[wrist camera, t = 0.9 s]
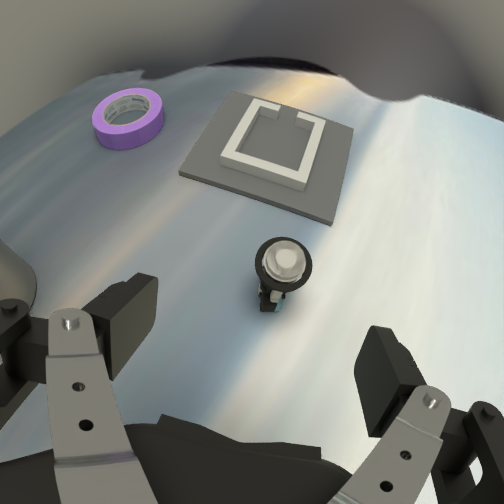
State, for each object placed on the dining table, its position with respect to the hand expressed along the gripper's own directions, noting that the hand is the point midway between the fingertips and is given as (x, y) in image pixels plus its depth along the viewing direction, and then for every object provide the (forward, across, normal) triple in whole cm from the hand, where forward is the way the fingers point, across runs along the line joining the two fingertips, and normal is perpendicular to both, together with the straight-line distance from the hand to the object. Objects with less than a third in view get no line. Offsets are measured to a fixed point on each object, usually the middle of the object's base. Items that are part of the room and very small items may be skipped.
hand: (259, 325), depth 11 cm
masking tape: (+39, +27, -7) cm, 48 cm away
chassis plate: (+40, +2, -7) cm, 40 cm away
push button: (+25, -1, +9) cm, 27 cm away
